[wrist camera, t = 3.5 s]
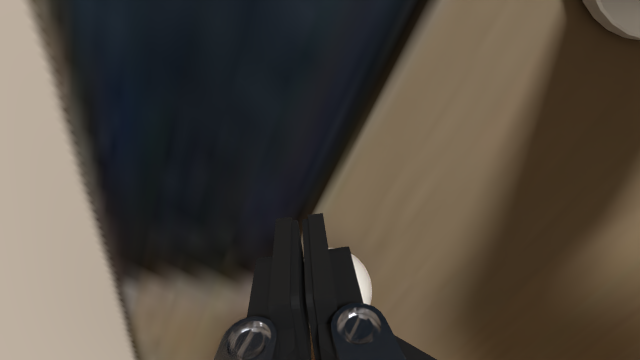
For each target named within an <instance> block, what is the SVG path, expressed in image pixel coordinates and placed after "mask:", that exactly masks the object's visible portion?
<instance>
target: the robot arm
mask: <svg viewBox="0 0 640 360" xmlns="http://www.w3.org/2000/svg"><path fill="white" fill-rule="evenodd" d="M582 1H583V3H584V4H585V6H586V7H587V9H588V10H589V12H590V13H591V15H592V16H593V18H594V19H595V20H596V21H598V22H599V23H600V24H601V25H602V26H603V27H604V28H606V29H607V30H609V31H611V32H613V33H615V34H617V35H619V36H622V37H624V38H629V39H635V40H640V0H582ZM302 222H303V245H304V257H303V250H302V244H301V237H300V230H299V224H298V220H296V221H292V217H288V218H280V219H276V226H275V236H274V247H273V256H270V257H262V258H257V261H256V266H255V272H254V278H253V284H252V290H251V296H250V302H249V308H248V314H247V318H245V319H242V320H240V321H238V322H237V323H235V324H234V325H232V326H231V327H230V328H229V329H228V330H227V331H226V333H225V335H224V336H223V338H222V340H221V343H220V345H219V348H218V350H217V353H216V355H215V358H214V360H311V341H310V330H311V336H312V342H313V348H314V355H315V360H436V359H435V358H433V357H431V356H430V355H428V354H426V353H424V352H423V351H421V350H419V349H417V348H416V347H414V346H412V345H410V344H409V343H407V342H405V341H404V340H402V339H400V338H398V337H397V336H395V335H394V334H393V333H392V331H391V329H390V327H389V325H388V323H387V321H386V319H385V317H384V316H383V314H382V313H381V312H380V311H379V310H378V309H376V308H375V307H373V306H371V305H368V304H364V303H363V299H362V295H361V291H360V287H359V283H358V279H357V276H356V272H355V268H354V264H353V260H352V256H351V252H350V249H349V247H341V248H333V249H328V244H327V237H326V231H325V225H324V218H323V213H320V214H312V215H308V219H304V220H302Z"/></svg>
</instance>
